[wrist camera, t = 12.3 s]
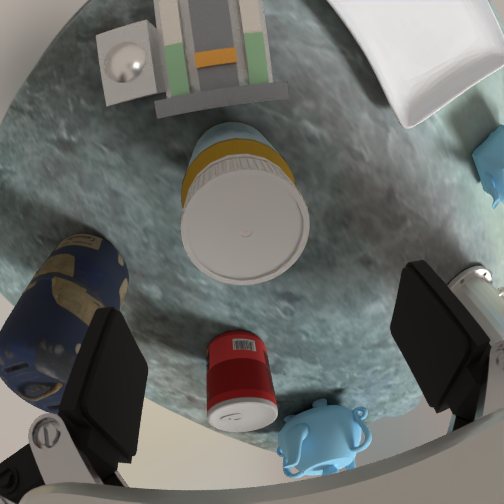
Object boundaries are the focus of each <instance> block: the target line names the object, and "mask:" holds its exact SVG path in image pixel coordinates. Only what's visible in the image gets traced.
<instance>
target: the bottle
mask: <svg viewBox="0 0 504 504" xmlns="http://www.w3.org/2000/svg"><path fill="white" fill-rule="evenodd" d="M181 202H182V207H183V212H182V217H181V222H180V223H181V226H180V230H181V237H182V243H183V245H184V248H185V251H186V253H187V255H188V257H189V258H190V260H191V261H192V262H193V264H194V265H195V266H196V267H197V268H198V269H199V270H200V271H202V272H203V273H204V274H206V275H207V276H209V277H211V278H213V279H215V280H217V281H220V282H223V283H227V284H232V285H253V284H258V283H262V282H265V281H268V280H271V279H273V278H275V277H277V276H279V275H280V274H282V273H283V272H285V271H286V270H287V269H289V268H290V267H291V266H292V265H293V264H294V263H295V262H296V260H297V259H298V258H299V256H300V255H301V253H302V252H303V250H304V248H305V246H306V243H307V240H308V236H309V229H310V219H309V212H308V210H307V209H308V208H307V206H306V204H305V200H304V199H303V197H302V195H301V193H300V192H299V190H298V189H297V188H296V185H295V180H294V176H293V174H292V172H291V170H290V168H289V166H288V165H287V163H286V161H285V160H284V159H283V157H282V156H281V155H280V154H279V153H278V152H277V150H276V149H275V148H274V147H273V146H272V145H271V144H270V143H269V142H268V140H267V139H266V138H265V137H264V136H263V135H262V134H261V133H260V132H259V131H257V130H256V129H255V128H253V127H252V126H249V125H247V124H244V123H241V122H225V123H221V124H217V125H215V126H213V127H212V128H210V129H208V130H207V131H206V132H205V133H204V134H203V135H202V136H201V137H200V139H199V140H198V141H197V143H196V145H195V148H194V151H193V153H192V156H191V159H190V162H189V165H188V168H187V171H186V174H185V177H184V180H183V184H182V193H181Z"/></svg>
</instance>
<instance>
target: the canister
mask: <svg viewBox="0 0 504 504" xmlns="http://www.w3.org/2000/svg"><path fill="white" fill-rule="evenodd" d="M128 282H129V275H128V270H127V266H126V264H125V262H124V260H123V258H122V256H121V255H120V253H119V252H118V251H117V250H116V249H115V248H114V247H113V246H112V245H111V244H110V243H108V242H107V241H105V240H104V239H102V238H99V237H97V236H93V235H89V234H75V235H72V236H69V237H67V238H66V239H64V240H63V241H61V242H60V244H59V245H58V246H57V247H56V248H55V249H54V251H53V252H52V253H51V255H50V256H49V257H48V259H47V260H46V261H45V262H44V264H43V265H42V266H41V268H40V269H39V271H37V272H36V274H35V276H34V277H33V279H32V280H31V282H30V283H29V285H28V286H27V288H26V289H25V291H24V292H23V294H22V296H21V298H20V299H19V301H18V302H17V304H16V306H15V307H14V309H13V310H12V312H11V314H10V315H9V317H8V318H7V320H6V322H5V324H4V325H3V327H2V329H1V331H0V377H1V379H2V380H3V381H4V382H5V384H6V385H7V386H8V387H9V388H10V389H11V390H12V391H13V392H14V393H16V394H17V395H18V396H19V397H21V398H22V399H23V400H25V401H26V402H28V403H30V404H32V405H33V406H35V407H37V408H39V409H42V410H44V411H46V412H49V413H53V414H57V415H58V412H59V405H60V402H61V399H62V396H63V393H64V390H65V387H66V384H67V381H68V379H69V376H70V373H71V370H72V368H73V365H74V362H75V360H76V357H77V354H78V352H79V349H80V347H81V344H82V342H83V339H84V337H85V334H86V332H87V329H88V327H89V325H90V322H91V320H92V318H93V315H94V313H95V311H96V309H98V308H103V307H114V308H115V309H116V310H117V311H120V310H121V306H122V303H123V300H124V297H125V294H126V291H127V288H128Z"/></svg>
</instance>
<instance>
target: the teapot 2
mask: <svg viewBox="0 0 504 504" xmlns="http://www.w3.org/2000/svg"><path fill="white" fill-rule="evenodd" d="M472 157H473V160H474V162H475V165H476V168H477V171H478V174H479V177H480V180H481V183H482V186H483V189H484V191H485V192H487V193H489V194H490V195H491V196H492V197H493V199H494V201H493V205H492V208H493V209H494V208H495V207H496V206H497V205H498V204H499V201H501V202H503V203H504V125H500V126H499V127H498V128H497V129H496V130H495V131H494V132H491V133H490V134H489V137H488V138H487V139H486V140H485V141H484V142H483V143H482V144H481V145H480V146H479V147H476V148H475V149H474V152H473V153H472Z"/></svg>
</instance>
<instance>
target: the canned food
mask: <svg viewBox="0 0 504 504" xmlns="http://www.w3.org/2000/svg"><path fill="white" fill-rule="evenodd" d="M277 416H278V409H277V403H276V397H275V392H274V387H273V382H272V377H271V371H270V366H269V361H268V356H267V351H266V347H265V345H264V343H263V341H262V340H261V339H260V338H259V337H258V336H256V335H255V334H252V333H249V332H245V331H232V332H227V333H224V334H221V335H219V336H217V337H216V338H214V339H213V340H212V341H211V343H210V344H209V347H208V349H207V417H208V422H209V423H210V424H211V425H212V426H213V427H215V428H217V429H220V430H223V431H229V432H247V431H253V430H257V429H260V428H263V427H265V426H267V425H269V424H271V423H272V422H273V421H275V419H276V418H277Z"/></svg>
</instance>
